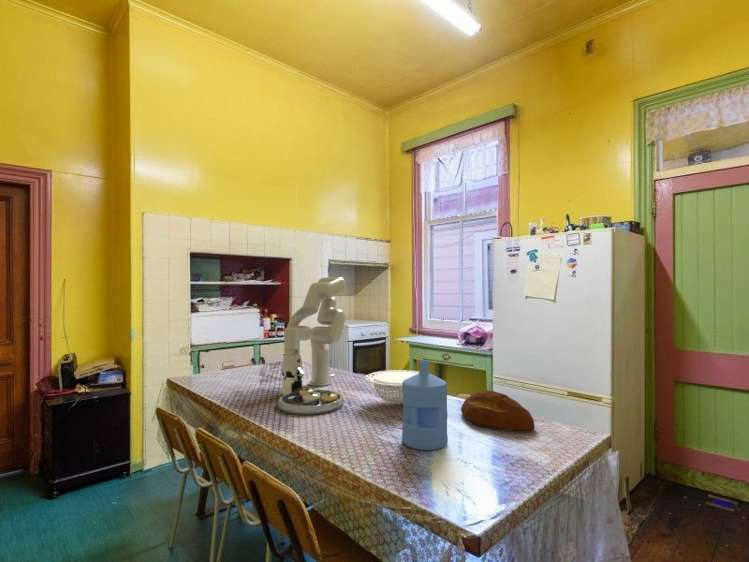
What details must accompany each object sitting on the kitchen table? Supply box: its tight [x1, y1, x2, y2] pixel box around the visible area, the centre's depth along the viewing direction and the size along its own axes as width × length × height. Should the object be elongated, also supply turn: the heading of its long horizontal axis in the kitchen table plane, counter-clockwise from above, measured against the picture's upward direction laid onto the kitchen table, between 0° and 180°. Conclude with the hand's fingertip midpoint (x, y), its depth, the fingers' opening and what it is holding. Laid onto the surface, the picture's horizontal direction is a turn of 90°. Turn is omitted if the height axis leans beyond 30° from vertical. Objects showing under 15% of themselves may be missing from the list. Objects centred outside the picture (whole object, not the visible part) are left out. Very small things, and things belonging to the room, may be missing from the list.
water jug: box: [401, 360, 449, 451], centre depth 144 cm, size 16×16×28 cm
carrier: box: [278, 387, 344, 416], centre depth 189 cm, size 29×29×6 cm
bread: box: [460, 390, 535, 433], centre depth 164 cm, size 21×33×12 cm, turn 35°
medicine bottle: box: [281, 371, 303, 396], centre depth 209 cm, size 7×7×12 cm
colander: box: [363, 369, 420, 406], centre depth 189 cm, size 32×32×13 cm
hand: (292, 387), depth 209 cm, fingers closed on medicine bottle, 7 cm apart
